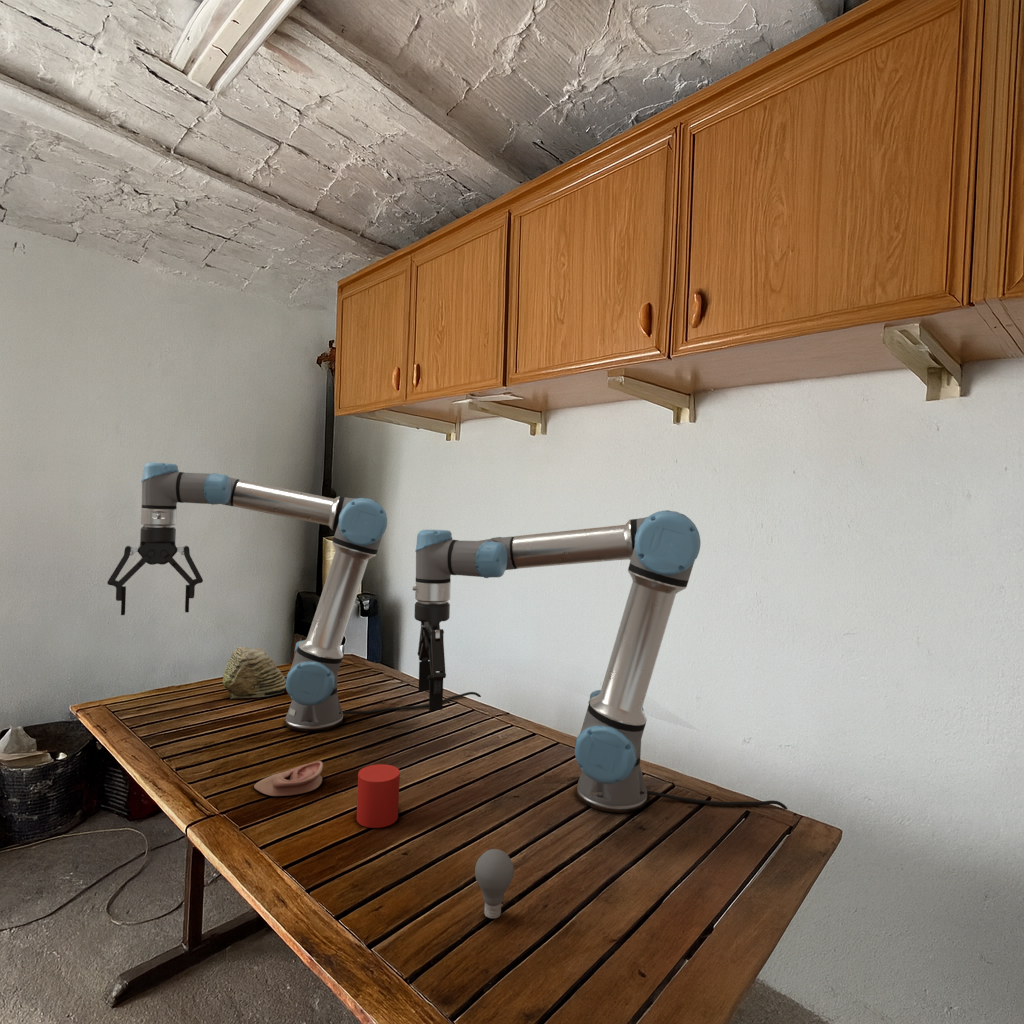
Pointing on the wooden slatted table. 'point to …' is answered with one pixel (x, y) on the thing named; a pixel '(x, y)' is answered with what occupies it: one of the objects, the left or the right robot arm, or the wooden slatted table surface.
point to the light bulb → (494, 879)
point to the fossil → (252, 674)
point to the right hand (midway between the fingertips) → (429, 699)
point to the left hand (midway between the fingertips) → (155, 613)
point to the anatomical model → (292, 781)
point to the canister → (378, 795)
